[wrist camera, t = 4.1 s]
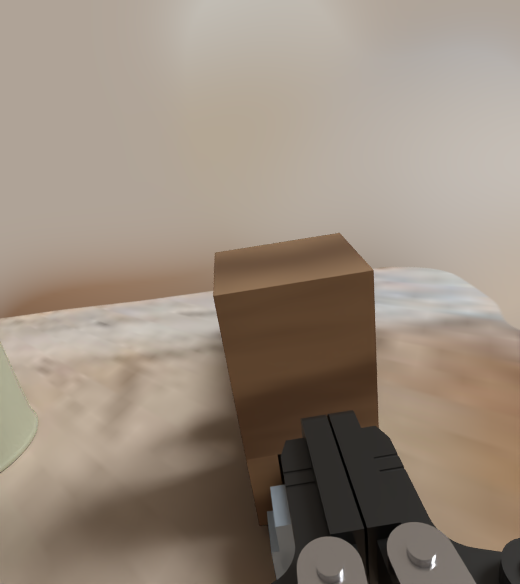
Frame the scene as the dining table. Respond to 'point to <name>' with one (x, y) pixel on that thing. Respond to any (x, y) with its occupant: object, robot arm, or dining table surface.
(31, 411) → the can
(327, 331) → the wooden rectangular block
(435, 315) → the dining table surface
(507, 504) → the dining table surface
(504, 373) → the dining table surface
